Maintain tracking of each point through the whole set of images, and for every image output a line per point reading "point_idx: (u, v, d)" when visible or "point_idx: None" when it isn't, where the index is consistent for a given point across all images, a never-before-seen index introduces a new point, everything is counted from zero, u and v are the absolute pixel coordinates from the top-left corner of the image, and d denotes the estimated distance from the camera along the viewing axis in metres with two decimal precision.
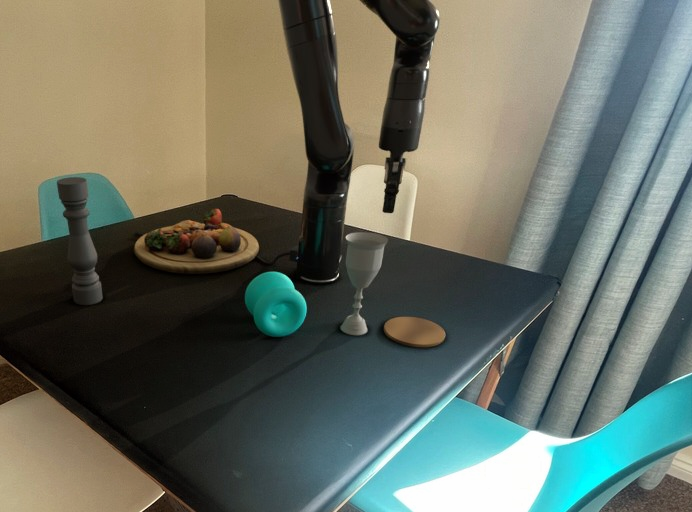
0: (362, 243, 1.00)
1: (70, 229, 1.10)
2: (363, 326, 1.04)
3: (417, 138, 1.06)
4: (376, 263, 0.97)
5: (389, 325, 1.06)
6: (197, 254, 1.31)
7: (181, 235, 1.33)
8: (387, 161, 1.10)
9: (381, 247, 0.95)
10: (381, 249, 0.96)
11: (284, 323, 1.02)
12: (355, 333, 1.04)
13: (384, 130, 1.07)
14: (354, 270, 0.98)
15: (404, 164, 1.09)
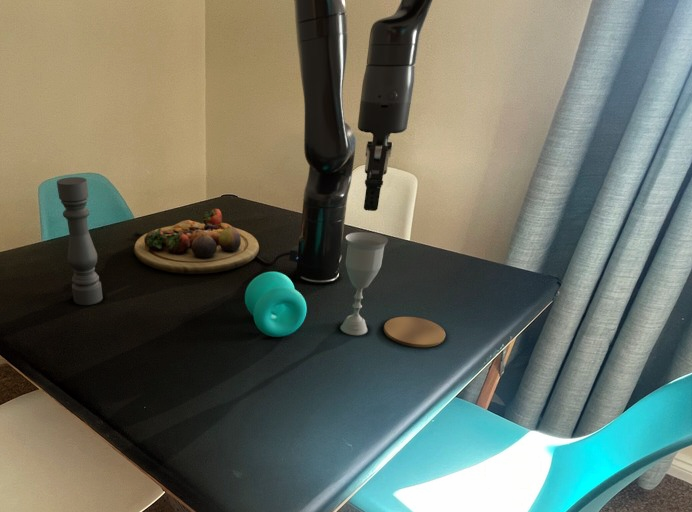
0: (362, 243, 1.00)
1: (70, 229, 1.10)
2: (363, 326, 1.04)
3: (405, 116, 0.84)
4: (376, 263, 0.97)
5: (389, 325, 1.06)
6: (197, 254, 1.31)
7: (181, 235, 1.33)
8: (369, 146, 0.88)
9: (381, 247, 0.95)
10: (381, 249, 0.96)
11: (284, 323, 1.02)
12: (355, 333, 1.04)
13: (364, 106, 0.85)
14: (354, 270, 0.98)
15: (390, 149, 0.87)
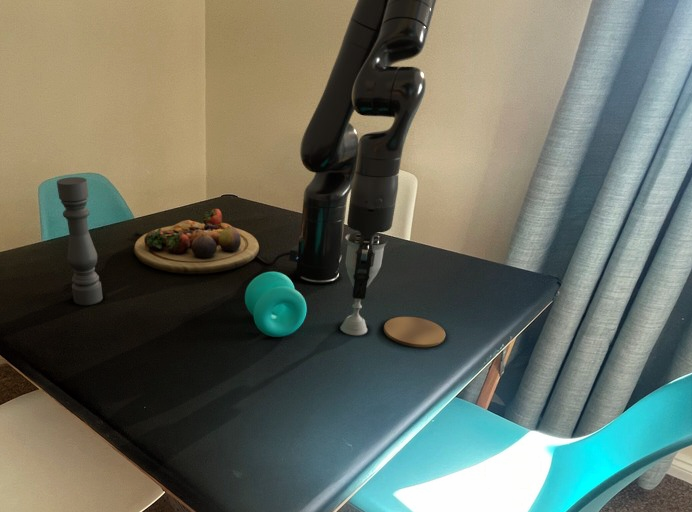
0: None
1: (70, 229, 1.10)
2: (363, 326, 1.04)
3: (390, 217, 0.92)
4: (376, 263, 0.97)
5: (389, 325, 1.06)
6: (197, 254, 1.31)
7: (181, 235, 1.33)
8: (357, 241, 0.96)
9: (381, 247, 0.95)
10: (381, 249, 0.96)
11: (284, 323, 1.02)
12: (355, 333, 1.04)
13: (352, 208, 0.93)
14: (354, 270, 0.98)
15: None
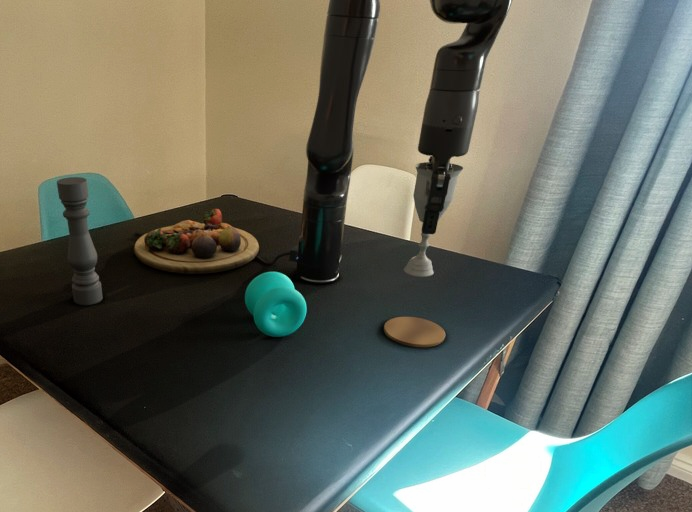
0: None
1: (70, 229, 1.10)
2: (430, 267, 0.97)
3: (468, 139, 0.84)
4: (450, 194, 0.89)
5: (389, 325, 1.06)
6: (197, 254, 1.31)
7: (181, 235, 1.33)
8: (429, 169, 0.88)
9: (456, 175, 0.87)
10: (455, 177, 0.88)
11: (284, 323, 1.02)
12: (421, 274, 0.96)
13: (426, 130, 0.85)
14: (425, 202, 0.90)
15: None
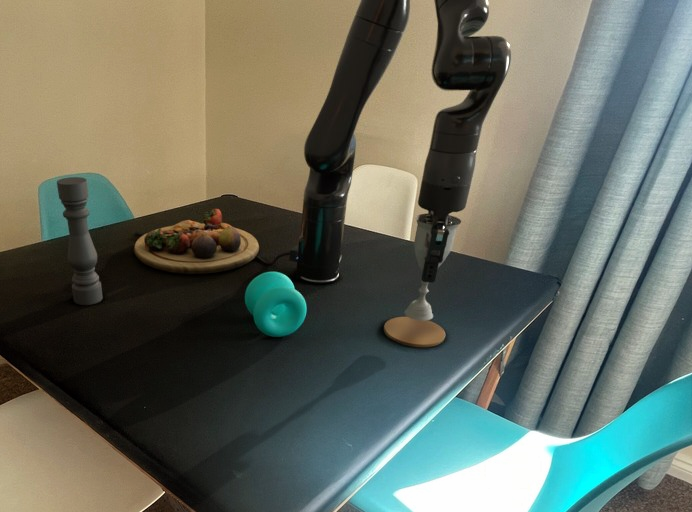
0: None
1: (70, 229, 1.10)
2: (429, 311, 1.01)
3: (466, 196, 0.89)
4: (448, 245, 0.93)
5: (389, 325, 1.06)
6: (197, 254, 1.31)
7: (181, 235, 1.33)
8: (428, 222, 0.92)
9: (454, 228, 0.92)
10: (454, 230, 0.92)
11: (284, 323, 1.02)
12: (421, 318, 1.01)
13: (426, 187, 0.89)
14: (425, 252, 0.95)
15: None
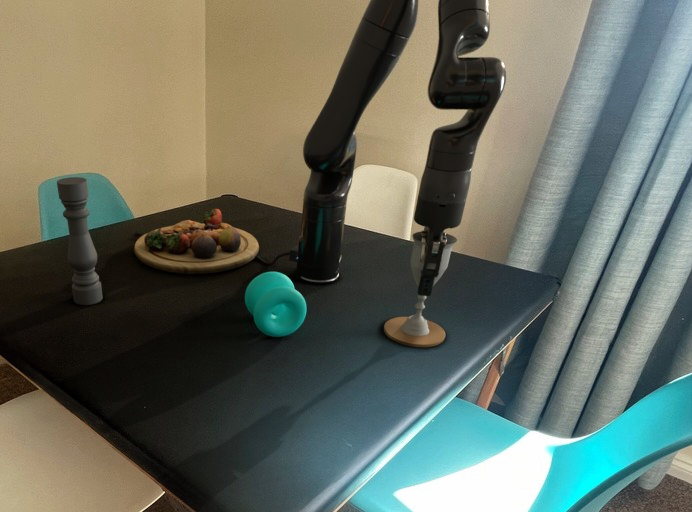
0: None
1: (70, 229, 1.10)
2: (425, 327, 1.03)
3: (461, 213, 0.90)
4: (444, 263, 0.95)
5: (389, 325, 1.06)
6: (197, 254, 1.31)
7: (181, 235, 1.33)
8: (424, 237, 0.94)
9: (450, 246, 0.93)
10: (450, 248, 0.94)
11: (284, 323, 1.02)
12: (417, 334, 1.03)
13: (422, 203, 0.91)
14: None
15: (444, 241, 0.93)
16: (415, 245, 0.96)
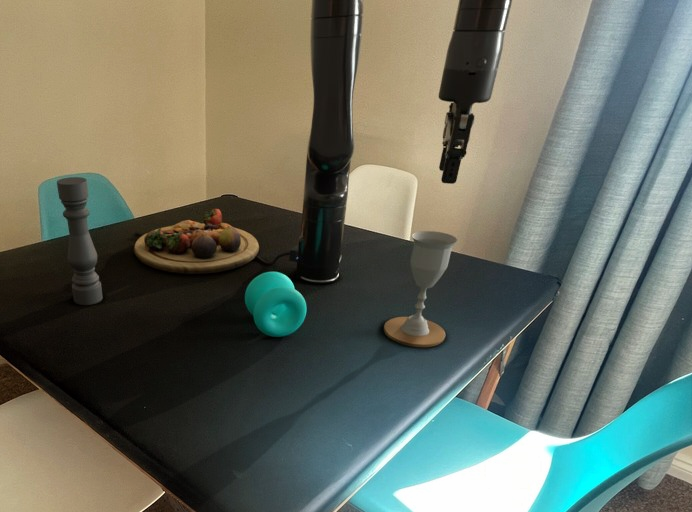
0: (427, 242, 0.98)
1: (70, 229, 1.10)
2: (425, 327, 1.03)
3: (492, 84, 0.82)
4: (444, 263, 0.95)
5: (389, 325, 1.06)
6: (197, 254, 1.31)
7: (181, 235, 1.33)
8: (450, 116, 0.85)
9: (450, 246, 0.93)
10: (450, 248, 0.94)
11: (284, 323, 1.02)
12: (417, 334, 1.03)
13: (448, 74, 0.82)
14: (421, 269, 0.96)
15: None
16: (415, 245, 0.96)
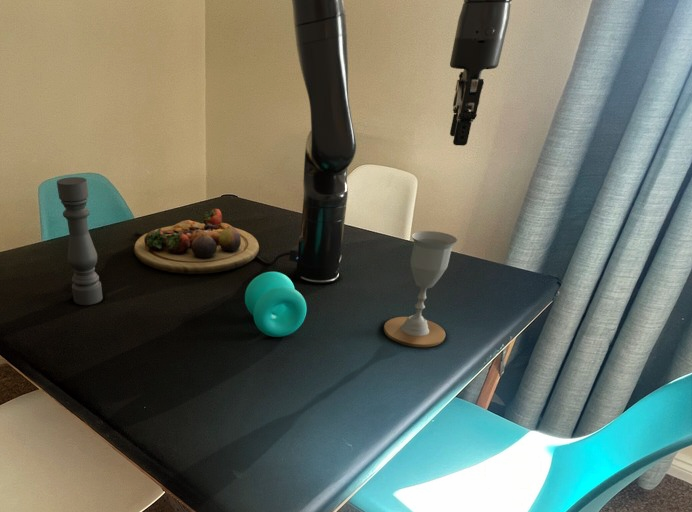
0: (427, 242, 0.98)
1: (70, 229, 1.10)
2: (425, 327, 1.03)
3: (499, 52, 0.89)
4: (444, 263, 0.95)
5: (389, 325, 1.06)
6: (197, 254, 1.31)
7: (181, 235, 1.33)
8: (460, 82, 0.93)
9: (450, 246, 0.93)
10: (450, 248, 0.94)
11: (284, 323, 1.02)
12: (417, 334, 1.03)
13: (459, 43, 0.90)
14: (421, 269, 0.96)
15: (481, 85, 0.92)
16: (415, 245, 0.96)
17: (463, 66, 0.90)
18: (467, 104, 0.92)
